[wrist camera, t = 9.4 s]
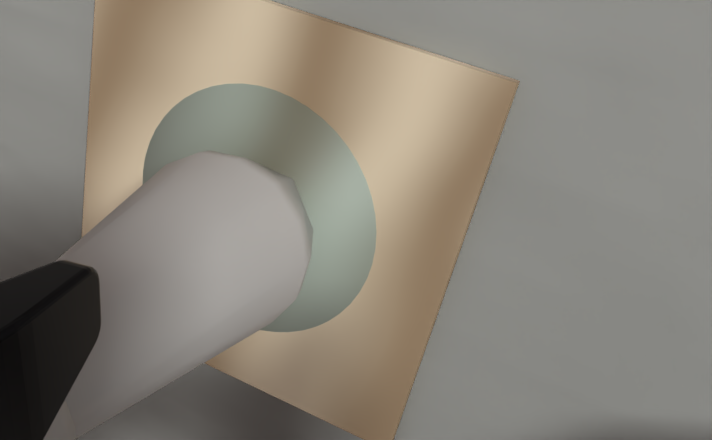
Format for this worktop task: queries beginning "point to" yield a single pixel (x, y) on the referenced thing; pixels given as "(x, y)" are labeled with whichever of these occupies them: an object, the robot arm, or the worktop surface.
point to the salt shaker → (184, 278)
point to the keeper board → (308, 175)
